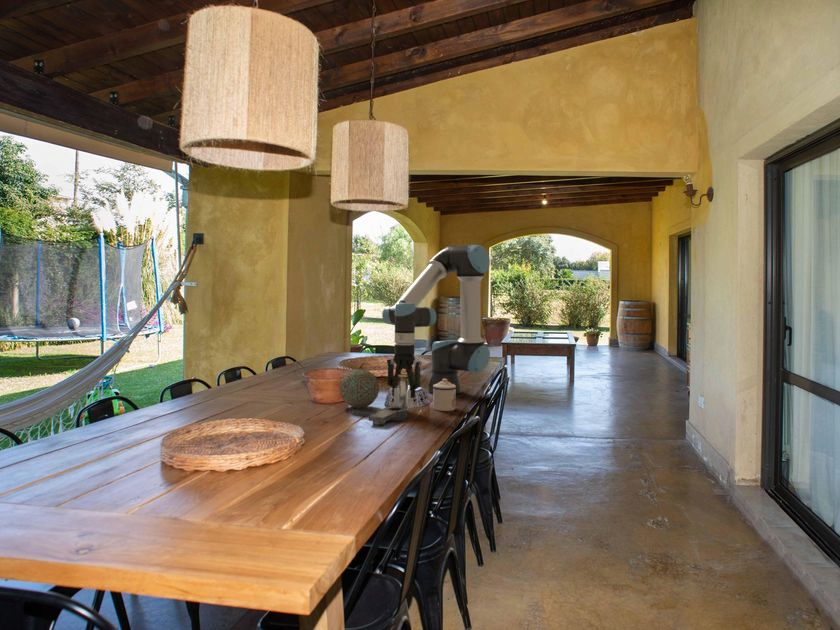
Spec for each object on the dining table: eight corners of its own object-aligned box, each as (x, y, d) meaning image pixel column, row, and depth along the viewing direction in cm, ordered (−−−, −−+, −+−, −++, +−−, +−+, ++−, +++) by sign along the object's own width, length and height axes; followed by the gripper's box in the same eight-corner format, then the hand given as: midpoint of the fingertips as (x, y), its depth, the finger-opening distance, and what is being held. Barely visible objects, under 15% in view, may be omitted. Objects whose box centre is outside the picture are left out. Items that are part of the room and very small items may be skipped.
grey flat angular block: (362, 410, 223) (362, 402, 223) (410, 416, 215) (410, 408, 215) (335, 420, 207) (335, 411, 207) (386, 427, 198) (387, 418, 198)
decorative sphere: (333, 410, 224) (333, 370, 223) (348, 402, 238) (349, 365, 238) (370, 413, 220) (371, 372, 219) (384, 405, 234) (384, 367, 234)
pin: (400, 409, 227) (401, 372, 226) (411, 410, 225) (412, 373, 224) (394, 412, 222) (395, 374, 222) (406, 413, 220) (406, 375, 220)
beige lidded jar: (457, 411, 225) (458, 381, 224) (433, 411, 224) (434, 380, 224) (453, 405, 237) (453, 376, 236) (430, 405, 236) (431, 375, 236)
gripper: (378, 343, 223) (377, 404, 224) (422, 346, 215) (421, 409, 216) (387, 341, 229) (386, 401, 231) (430, 344, 222) (429, 406, 223)
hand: (403, 405), depth 223 cm, fingers open, 5 cm apart
